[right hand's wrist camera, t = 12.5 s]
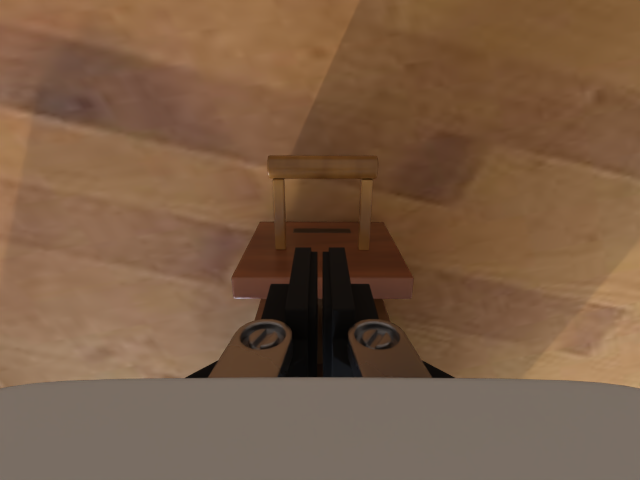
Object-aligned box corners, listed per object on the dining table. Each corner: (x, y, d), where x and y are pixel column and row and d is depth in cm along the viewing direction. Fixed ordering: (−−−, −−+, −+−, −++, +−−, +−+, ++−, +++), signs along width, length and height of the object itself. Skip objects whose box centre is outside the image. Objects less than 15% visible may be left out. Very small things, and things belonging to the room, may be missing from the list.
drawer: (255, 145, 24) (220, 167, 16) (389, 145, 24) (426, 167, 16) (267, 361, 30) (248, 459, 22) (374, 361, 30) (394, 460, 22)
